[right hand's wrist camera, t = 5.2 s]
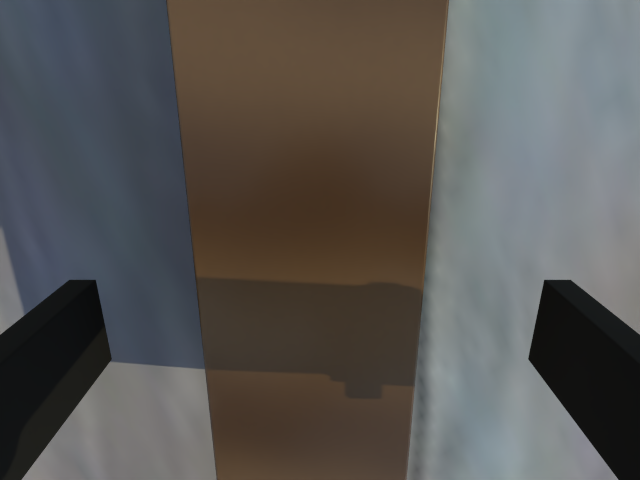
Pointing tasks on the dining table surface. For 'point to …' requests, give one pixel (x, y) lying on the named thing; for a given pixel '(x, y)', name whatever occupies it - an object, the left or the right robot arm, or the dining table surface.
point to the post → (309, 224)
